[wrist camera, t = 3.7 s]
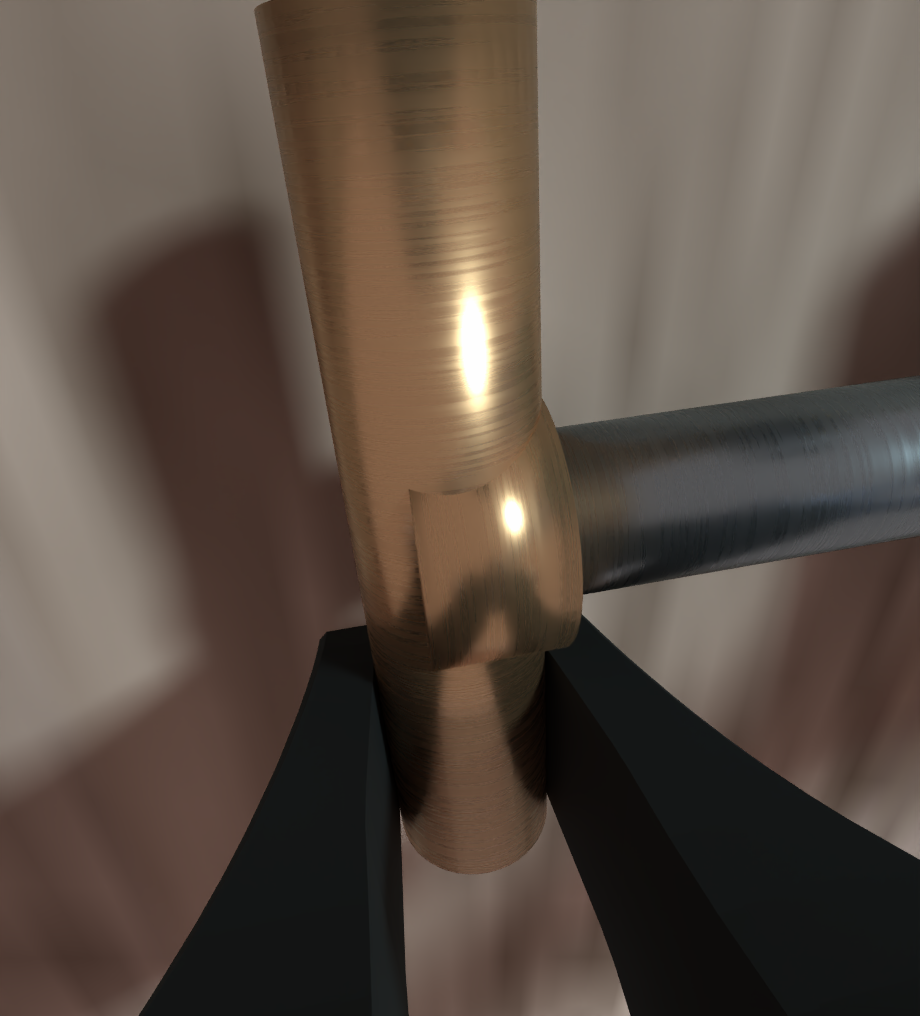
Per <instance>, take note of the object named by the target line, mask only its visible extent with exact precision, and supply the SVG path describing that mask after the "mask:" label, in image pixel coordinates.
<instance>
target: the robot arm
mask: <svg viewBox="0 0 920 1016" xmlns="http://www.w3.org/2000/svg"><path fill="white" fill-rule="evenodd" d="M545 708H546V787H547V795H548V797H549V800H550V802H551V805H552V807H553V810H554V812H555V815H556V817H557V820H558V822H559V825H560V827H561V829H562V832H563V834H564V837H565V839H566V842H567V844H568V847H569V849H570V852H571V854H572V856H573V859H574V861H575V864H576V866H577V869H578V871H579V874H580V876H581V879H582V881H583V883H584V886H585V888H586V891H587V893H588V896H589V898H590V901H591V903H592V906H593V908H594V911H595V913H596V915H597V918H598V920H599V923H600V925H601V928H602V931H603V933H604V936H605V939H606V942H607V944H608V947H609V950H610V953H611V955H612V958H613V961H614V964H615V967H616V970H617V973H618V977H619V980H620V983H621V986H622V989H623V993H624V996H625V999H626V1002H627V1006H628V1009H629V1012H630V1015H631V1016H920V860H919V859H917V858H916V857H914V856H912V855H910V854H909V853H907V852H905V851H903V850H902V849H900V848H898V847H896V846H895V845H893V844H891V843H889V842H887V841H886V840H884V839H882V838H880V837H879V836H877V835H875V834H873V833H872V832H870V831H868V830H866V829H865V828H863V827H861V826H859V825H858V824H856V823H854V822H852V821H851V820H849V819H847V818H845V817H844V816H842V815H841V814H839V813H837V812H836V811H834V810H832V809H831V808H829V807H828V806H826V805H824V804H823V803H821V802H820V801H818V800H816V799H815V798H813V797H812V796H810V795H808V794H807V793H805V792H804V791H802V790H801V789H799V788H798V787H796V786H795V785H793V784H792V783H790V782H789V781H787V780H786V779H784V778H783V777H781V776H780V775H778V774H777V773H775V772H774V771H772V770H771V769H769V768H768V767H766V766H765V765H764V764H762V763H761V762H759V761H758V760H756V759H755V758H754V757H752V756H751V755H749V754H748V753H747V752H745V751H744V750H742V749H741V748H740V747H738V746H737V745H736V744H734V743H733V742H731V741H730V740H729V739H727V738H726V737H725V736H723V735H722V734H721V733H720V732H718V731H717V730H716V729H714V728H713V727H712V726H710V725H709V724H708V723H706V722H705V721H704V720H703V719H701V718H700V717H699V716H697V715H696V714H695V713H694V712H692V711H691V710H690V709H689V708H687V707H686V706H685V705H684V704H682V703H681V702H680V701H679V700H677V699H676V698H675V697H674V696H672V695H671V694H670V693H669V692H668V691H667V690H665V689H664V688H663V687H662V686H661V685H660V684H658V683H657V682H656V681H655V680H654V679H652V678H651V677H650V676H649V675H648V674H647V673H645V672H644V671H643V670H642V669H641V668H640V667H638V666H637V665H636V664H635V663H634V662H633V661H632V660H630V659H629V658H628V657H627V656H626V655H625V654H624V653H623V652H621V651H620V650H619V649H618V648H617V647H616V646H615V645H614V644H613V643H612V642H611V641H610V640H608V639H607V638H606V637H605V636H604V635H603V634H602V633H601V632H600V631H599V630H598V629H597V628H596V627H595V626H594V625H592V624H591V623H590V622H589V621H588V620H587V619H586V618H585V617H584V616H583V615H582V614H581V621H580V626H579V630H578V634H577V636H576V639H575V641H574V642H573V643H572V645H570V646H569V647H566V648H560V649H555V650H549V651H545ZM139 1016H409V1014H408V1000H407V986H406V972H405V942H404V913H403V884H402V855H401V827H400V805H399V799H398V794H397V788H396V783H395V777H394V772H393V767H392V761H391V756H390V750H389V745H388V739H387V734H386V728H385V723H384V717H383V712H382V706H381V701H380V695H379V690H378V684H377V679H376V674H375V668H374V663H373V657H372V652H371V646H370V641H369V635H368V630H367V625H364V626H358V627H352V628H347V629H341V630H335V631H329V632H326V633H325V635H324V636H323V637H322V638H321V639H320V641H319V646H318V651H317V655H316V659H315V662H314V666H313V670H312V673H311V676H310V679H309V683H308V686H307V689H306V692H305V694H304V697H303V700H302V703H301V706H300V709H299V712H298V714H297V717H296V719H295V722H294V724H293V727H292V729H291V732H290V734H289V737H288V739H287V742H286V744H285V747H284V749H283V752H282V754H281V757H280V759H279V762H278V764H277V766H276V769H275V771H274V773H273V775H272V777H271V780H270V782H269V784H268V786H267V788H266V790H265V792H264V794H263V797H262V799H261V801H260V803H259V805H258V807H257V809H256V811H255V814H254V816H253V818H252V820H251V822H250V824H249V826H248V828H247V830H246V832H245V834H244V836H243V838H242V840H241V842H240V844H239V846H238V848H237V850H236V852H235V854H234V856H233V858H232V860H231V862H230V863H229V865H228V867H227V869H226V871H225V873H224V875H223V876H222V878H221V880H220V882H219V884H218V885H217V887H216V889H215V891H214V893H213V894H212V896H211V898H210V900H209V901H208V903H207V905H206V907H205V908H204V910H203V912H202V914H201V916H200V917H199V919H198V921H197V922H196V924H195V926H194V928H193V929H192V931H191V932H190V934H189V936H188V937H187V939H186V941H185V942H184V944H183V946H182V947H181V949H180V950H179V952H178V954H177V955H176V957H175V959H174V960H173V962H172V963H171V965H170V967H169V968H168V970H167V972H166V973H165V975H164V976H163V978H162V980H161V981H160V983H159V985H158V986H157V988H156V989H155V991H154V993H153V994H152V996H151V997H150V999H149V1000H148V1002H147V1003H146V1005H145V1007H144V1008H143V1010H142V1011H141V1013H140V1014H139Z"/></svg>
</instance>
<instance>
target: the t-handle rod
mask: <svg viewBox="0 0 920 1016" xmlns="http://www.w3.org/2000/svg"><path fill="white" fill-rule="evenodd" d="M254 12H255V17H256V23H257V28H258V34H259V39H260V45H261V50H262V56H263V61H264V67H265V72H266V78H267V83H268V89H269V94H270V99H271V105H272V110H273V116H274V121H275V127H276V132H277V138H278V143H279V149H280V154H281V160H282V165H283V171H284V176H285V181H286V187H287V192H288V198H289V203H290V209H291V214H292V220H293V225H294V231H295V236H296V242H297V247H298V253H299V258H300V264H301V269H302V274H303V280H304V285H305V291H306V296H307V302H308V307H309V313H310V318H311V324H312V329H313V335H314V340H315V346H316V351H317V356H318V362H319V367H320V373H321V378H322V384H323V389H324V395H325V400H326V406H327V411H328V417H329V422H330V428H331V433H332V438H333V444H334V449H335V455H336V460H337V466H338V471H339V477H340V482H341V488H342V493H343V499H344V504H345V510H346V515H347V520H348V526H349V531H350V537H351V542H352V548H353V553H354V559H355V564H356V570H357V575H358V581H359V586H360V592H361V597H362V602H363V608H364V613H365V619H366V624H367V630H368V635H369V641H370V646H371V652H372V657H373V663H374V668H375V674H376V679H377V684H378V690H379V695H380V701H381V706H382V712H383V717H384V723H385V728H386V734H387V739H388V745H389V750H390V756H391V761H392V767H393V772H394V777H395V783H396V788H397V794H398V799H399V805H400V810H401V816H402V821H403V826H404V829H405V832H406V835H407V837H408V839H409V841H410V842H411V844H412V845H413V847H414V848H415V849H416V851H417V852H418V853H419V854H420V855H421V856H422V857H424V858H425V859H426V860H428V861H429V862H430V863H432V864H434V865H436V866H438V867H440V868H442V869H445V870H448V871H451V872H456V873H462V874H482V873H488V872H492V871H496V870H499V869H502V868H504V867H506V866H509V865H510V864H512V863H514V862H515V861H517V860H518V859H520V858H521V857H522V856H523V855H525V854H526V853H527V852H528V851H529V850H530V849H531V848H532V846H533V845H534V844H535V842H536V841H537V839H538V838H539V836H540V834H541V832H542V829H543V826H544V824H545V819H546V811H547V787H546V708H545V651H549V650H555V649H560V648H566V647H569V646H570V645H572V643H573V642H574V641H575V639H576V636H577V634H578V630H579V626H580V621H581V614H582V601H583V594H589V593H595V592H601V591H606V590H612V589H618V588H624V587H629V586H635V585H641V584H646V583H652V582H658V581H664V580H669V579H675V578H681V577H687V576H692V575H698V574H704V573H710V572H715V571H721V570H727V569H733V568H738V567H744V566H750V565H756V564H761V563H767V562H773V561H779V560H784V559H790V558H796V557H802V556H807V555H813V554H819V553H825V552H830V551H836V550H842V549H847V548H853V547H859V546H865V545H870V544H876V543H882V542H888V541H893V540H899V539H905V538H911V537H916V536H920V375H919V376H912V377H905V378H898V379H891V380H884V381H877V382H870V383H863V384H856V385H849V386H842V387H835V388H828V389H821V390H814V391H808V392H801V393H794V394H787V395H780V396H773V397H766V398H759V399H752V400H745V401H738V402H731V403H724V404H717V405H710V406H703V407H696V408H689V409H682V410H675V411H668V412H661V413H654V414H647V415H641V416H634V417H627V418H620V419H613V420H606V421H599V422H592V423H585V424H578V425H571V426H564V427H557V428H555V425H554V422H553V420H552V418H551V415H550V413H549V410H548V409H547V407H546V405H545V403H544V401H543V399H542V393H541V315H540V236H539V157H538V79H537V0H271V1H268V2H265V3H263V4H261V5H259V6H257V7H256V8H255V9H254Z"/></svg>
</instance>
